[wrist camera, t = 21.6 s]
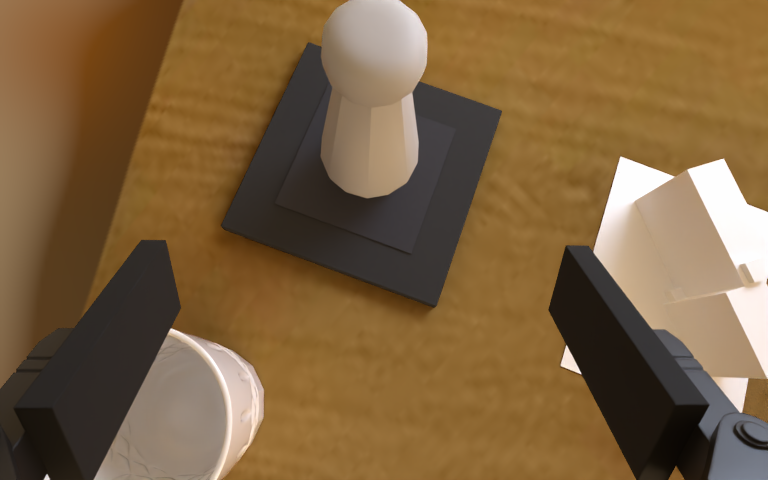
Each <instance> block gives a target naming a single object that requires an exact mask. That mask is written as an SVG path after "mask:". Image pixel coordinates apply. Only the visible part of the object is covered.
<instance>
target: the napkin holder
mask: <svg viewBox="0 0 768 480" xmlns="http://www.w3.org/2000/svg"><path fill="white" fill-rule="evenodd" d="M593 253H594V254H595V255H596V257H597V258H598V259H599V261H600V262H601V263H602V264H603V266H604V267H605V268H606V270H607V271H608V272H609V274H610V275H611V276H612V278H613V279H614V280H615V281H616V283H617V284H618V285H619V287H620V288H621V289H622V291H623V292H624V293H625V294H626V296H627V297H628V298H629V300H630V301H631V302H632V304H633V305H634V306H635V308H636V309H637V310H638V311H639V313H640V314H641V315H642V317H643V318H644V319H645V321H646V322H647V323H648V324H649V326H650V327H651V328H652V329H665V330H667V331H668V332H669V333H671V334H672V335H673V336H675V337H676V338H678V339H679V340H680V341H682V342H683V343H684V345H685V346H686V347H687V348H688V350H689V351H690V352H691V353H692V354H693V356H694V359H697V361H698V362H699V363H700V364H701V365H702V367H703V370H704V371H706V372H707V373H708V374H709V375H710V376H711V378H712V379H713V380H714V381H715V383H716V384H717V385H718V386H719V387H720V389H721V390H722V391H723V392H724V394H725V395H726V396H727V397H728V398H729V400H730V401H731V402H732V403H733V405H734V406H735V407H736V408H737V409H738V411H739V412H740V413H742V410H743V405H744V400H745V394H746V389H747V383H748V378H757V379H768V286H767V284H766V281H767V278H768V212H766V211H764V210H761V209H758V208H756V207H753V206H750V205H748V204H747V203H746V201H745V199H744V197H743V195H742V194H741V192H740V190H739V188H738V186H737V184H736V182H735V180H734V178H733V176H732V174H731V172H730V170H729V168H728V166H727V164H726V162H725V160H724V159H721V160H718V161H714V162H711V163H708V164H704V165H701V166H698V167H694V168H691V169H688V170H686V171H684V172H682V173H681V174H679V175H677V176H676V177H674V176H671V175H668V174H666V173H663V172H660V171H658V170H655V169H652V168H650V167H647V166H644V165H642V164H639V163H636V162H634V161H631V160H628V159H626V158H623V157H620V160H619V164H618V167H617V171H616V174H615V177H614V181H613V184H612V188H611V191H610V195H609V198H608V202H607V205H606V209H605V212H604V216H603V219H602V223H601V226H600V230H599V233H598V237H597V240H596V244H595V247H594V251H593ZM561 366H562V367H564V368H567V369H569V370H572V371H574V372H577V373H579V374H581V372H580V370H579V368H578V366H577V364H576V362H575V360H574V358H573V356H572V354H571V353H570V351H569V349H568V347H567V345H566V348H565V352H564V355H563V359H562V362H561Z"/></svg>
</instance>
